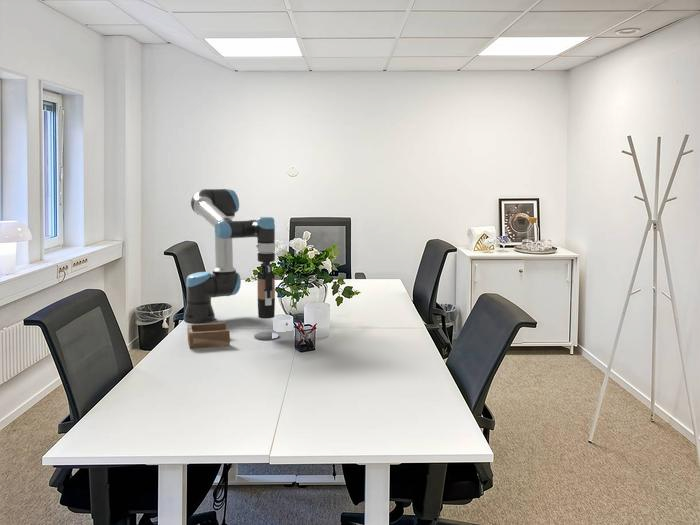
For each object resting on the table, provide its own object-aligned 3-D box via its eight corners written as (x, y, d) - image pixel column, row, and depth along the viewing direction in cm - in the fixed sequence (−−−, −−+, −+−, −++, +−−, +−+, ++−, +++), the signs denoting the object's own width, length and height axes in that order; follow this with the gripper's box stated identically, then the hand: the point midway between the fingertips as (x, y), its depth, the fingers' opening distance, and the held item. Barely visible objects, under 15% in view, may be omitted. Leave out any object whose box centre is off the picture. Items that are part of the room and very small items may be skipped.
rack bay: (187, 339, 259) (187, 324, 258) (225, 336, 265) (225, 322, 264) (189, 348, 245) (189, 333, 244) (229, 345, 250) (229, 330, 250)
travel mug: (273, 318, 259) (273, 274, 257) (256, 318, 260) (255, 273, 257) (276, 315, 267) (275, 271, 264) (259, 314, 267) (258, 271, 264)
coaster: (252, 334, 268) (252, 332, 268) (276, 333, 272) (276, 331, 272) (256, 341, 258) (256, 339, 258) (281, 339, 261) (281, 337, 261)
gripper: (253, 249, 268) (254, 299, 271) (261, 255, 249) (262, 308, 252) (270, 249, 270) (270, 298, 273) (279, 255, 251) (279, 307, 254)
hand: (266, 303), depth 263 cm, fingers closed on travel mug, 8 cm apart
